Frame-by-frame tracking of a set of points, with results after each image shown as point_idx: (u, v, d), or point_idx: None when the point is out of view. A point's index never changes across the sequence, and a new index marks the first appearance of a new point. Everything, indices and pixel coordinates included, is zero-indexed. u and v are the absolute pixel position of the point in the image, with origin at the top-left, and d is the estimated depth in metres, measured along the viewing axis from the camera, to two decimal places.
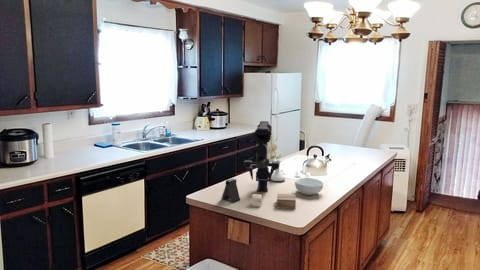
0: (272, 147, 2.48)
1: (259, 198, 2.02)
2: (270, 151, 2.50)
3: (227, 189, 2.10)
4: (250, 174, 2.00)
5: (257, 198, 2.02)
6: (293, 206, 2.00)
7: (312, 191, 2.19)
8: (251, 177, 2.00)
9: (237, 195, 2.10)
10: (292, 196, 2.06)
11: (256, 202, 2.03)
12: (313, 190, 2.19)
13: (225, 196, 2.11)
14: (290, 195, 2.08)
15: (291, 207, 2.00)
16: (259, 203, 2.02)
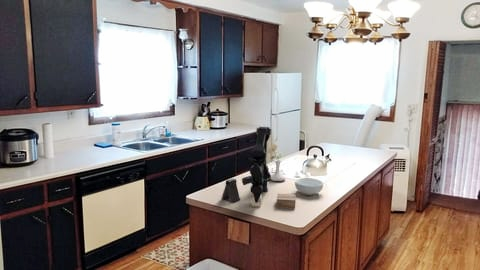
0: (272, 147, 2.48)
1: (259, 198, 2.02)
2: (270, 151, 2.50)
3: (227, 189, 2.10)
4: None
5: None
6: (293, 206, 2.00)
7: (312, 191, 2.19)
8: None
9: (237, 195, 2.10)
10: (292, 196, 2.06)
11: None
12: (313, 190, 2.19)
13: (225, 196, 2.11)
14: (290, 195, 2.08)
15: (291, 207, 2.00)
16: (259, 203, 2.02)
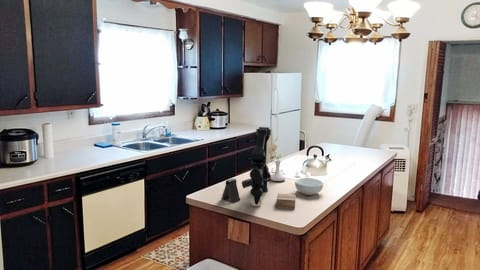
0: (272, 147, 2.48)
1: None
2: (270, 151, 2.50)
3: (227, 189, 2.10)
4: None
5: None
6: (293, 207, 2.00)
7: (312, 191, 2.19)
8: None
9: (237, 195, 2.10)
10: (292, 196, 2.06)
11: None
12: (313, 190, 2.19)
13: (225, 196, 2.11)
14: (290, 195, 2.08)
15: (291, 207, 2.00)
16: (259, 203, 2.02)
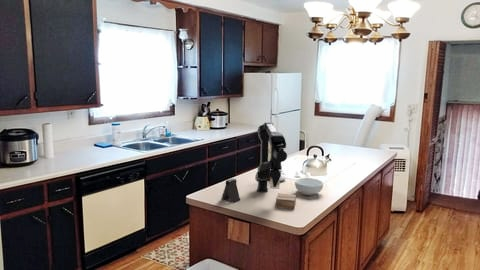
0: None
1: None
2: (270, 151, 2.50)
3: (227, 189, 2.10)
4: None
5: None
6: (292, 207, 2.00)
7: (312, 191, 2.19)
8: None
9: (237, 195, 2.10)
10: (292, 196, 2.05)
11: None
12: (313, 190, 2.19)
13: (225, 196, 2.11)
14: (290, 195, 2.08)
15: (290, 207, 2.00)
16: (277, 185, 2.01)
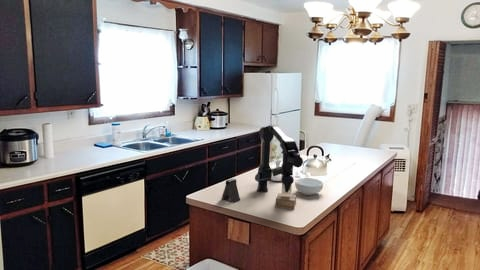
0: (272, 147, 2.48)
1: None
2: (270, 151, 2.50)
3: (227, 189, 2.10)
4: None
5: None
6: (292, 207, 2.00)
7: (312, 191, 2.19)
8: None
9: (237, 195, 2.10)
10: (292, 196, 2.05)
11: None
12: (313, 190, 2.19)
13: (225, 196, 2.11)
14: (291, 195, 2.07)
15: (290, 207, 2.00)
16: (289, 191, 2.02)
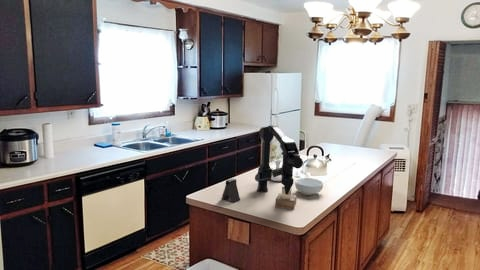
0: (272, 147, 2.48)
1: None
2: (270, 151, 2.50)
3: (227, 189, 2.10)
4: None
5: None
6: (292, 207, 2.00)
7: (312, 191, 2.19)
8: None
9: (237, 195, 2.10)
10: (292, 196, 2.05)
11: None
12: (313, 190, 2.19)
13: (225, 196, 2.11)
14: (291, 195, 2.07)
15: (290, 207, 2.00)
16: (289, 195, 2.02)
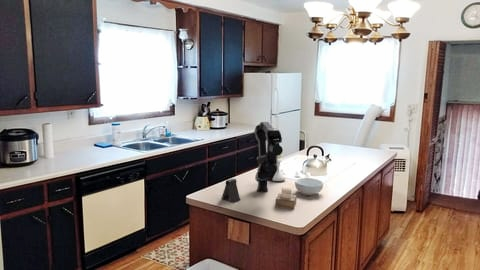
0: None
1: (289, 190, 2.02)
2: None
3: (227, 189, 2.10)
4: None
5: (287, 190, 2.02)
6: (292, 207, 2.00)
7: (312, 191, 2.19)
8: None
9: (237, 195, 2.10)
10: (292, 196, 2.05)
11: (286, 194, 2.02)
12: (313, 190, 2.19)
13: (225, 196, 2.11)
14: (291, 195, 2.07)
15: (290, 207, 2.00)
16: (289, 195, 2.02)
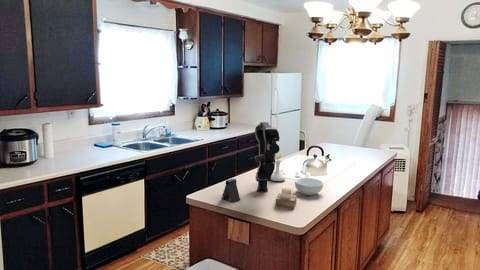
0: None
1: (289, 190, 2.02)
2: None
3: (227, 189, 2.10)
4: None
5: (287, 190, 2.02)
6: (292, 207, 2.00)
7: (312, 191, 2.19)
8: None
9: (237, 195, 2.10)
10: (292, 196, 2.05)
11: (286, 194, 2.02)
12: (313, 190, 2.19)
13: (225, 196, 2.11)
14: (291, 195, 2.07)
15: (290, 207, 2.00)
16: (289, 195, 2.02)
